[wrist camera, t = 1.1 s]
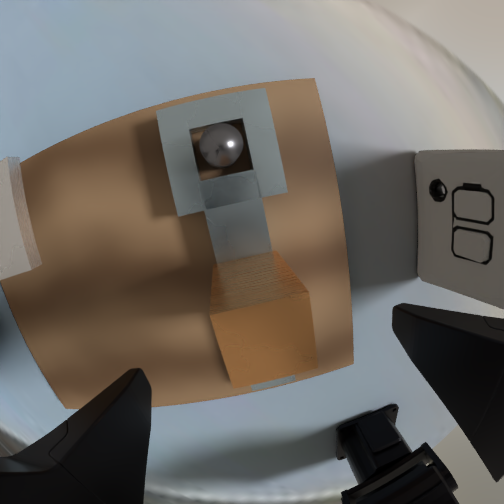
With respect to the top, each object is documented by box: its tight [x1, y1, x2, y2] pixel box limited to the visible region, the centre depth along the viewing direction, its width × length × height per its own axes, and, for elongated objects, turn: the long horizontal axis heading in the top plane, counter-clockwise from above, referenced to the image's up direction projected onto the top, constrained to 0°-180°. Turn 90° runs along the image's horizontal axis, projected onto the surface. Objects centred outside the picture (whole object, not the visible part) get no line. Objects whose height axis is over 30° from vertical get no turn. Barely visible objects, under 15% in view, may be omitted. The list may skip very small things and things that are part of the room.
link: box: [156, 88, 318, 391], centre depth 12 cm, size 17×5×7 cm, turn 11°
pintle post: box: [199, 123, 243, 169], centre depth 12 cm, size 2×2×3 cm
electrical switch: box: [414, 150, 504, 309], centre depth 13 cm, size 9×5×9 cm, turn 8°
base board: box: [0, 78, 354, 409], centre depth 16 cm, size 19×24×1 cm
